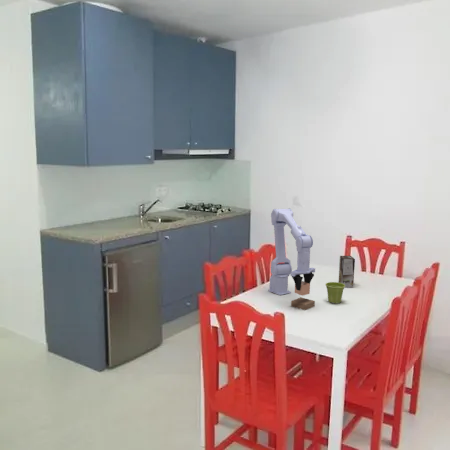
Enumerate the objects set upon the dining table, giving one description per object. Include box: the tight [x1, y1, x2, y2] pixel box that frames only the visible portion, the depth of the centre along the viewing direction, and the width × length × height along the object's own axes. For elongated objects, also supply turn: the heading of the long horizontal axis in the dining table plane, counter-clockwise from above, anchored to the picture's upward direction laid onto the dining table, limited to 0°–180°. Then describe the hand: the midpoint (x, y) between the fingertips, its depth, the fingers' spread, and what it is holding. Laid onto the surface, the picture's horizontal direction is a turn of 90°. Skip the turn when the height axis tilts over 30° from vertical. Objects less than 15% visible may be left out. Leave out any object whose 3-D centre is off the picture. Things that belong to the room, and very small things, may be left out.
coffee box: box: [338, 255, 356, 289], centre depth 253 cm, size 9×6×16 cm
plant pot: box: [325, 281, 345, 304], centre depth 226 cm, size 9×9×9 cm
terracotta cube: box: [294, 280, 311, 296], centre depth 218 cm, size 5×5×5 cm
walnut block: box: [290, 296, 316, 311], centre depth 219 cm, size 8×8×3 cm
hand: (302, 288), depth 218 cm, fingers closed on terracotta cube, 5 cm apart
